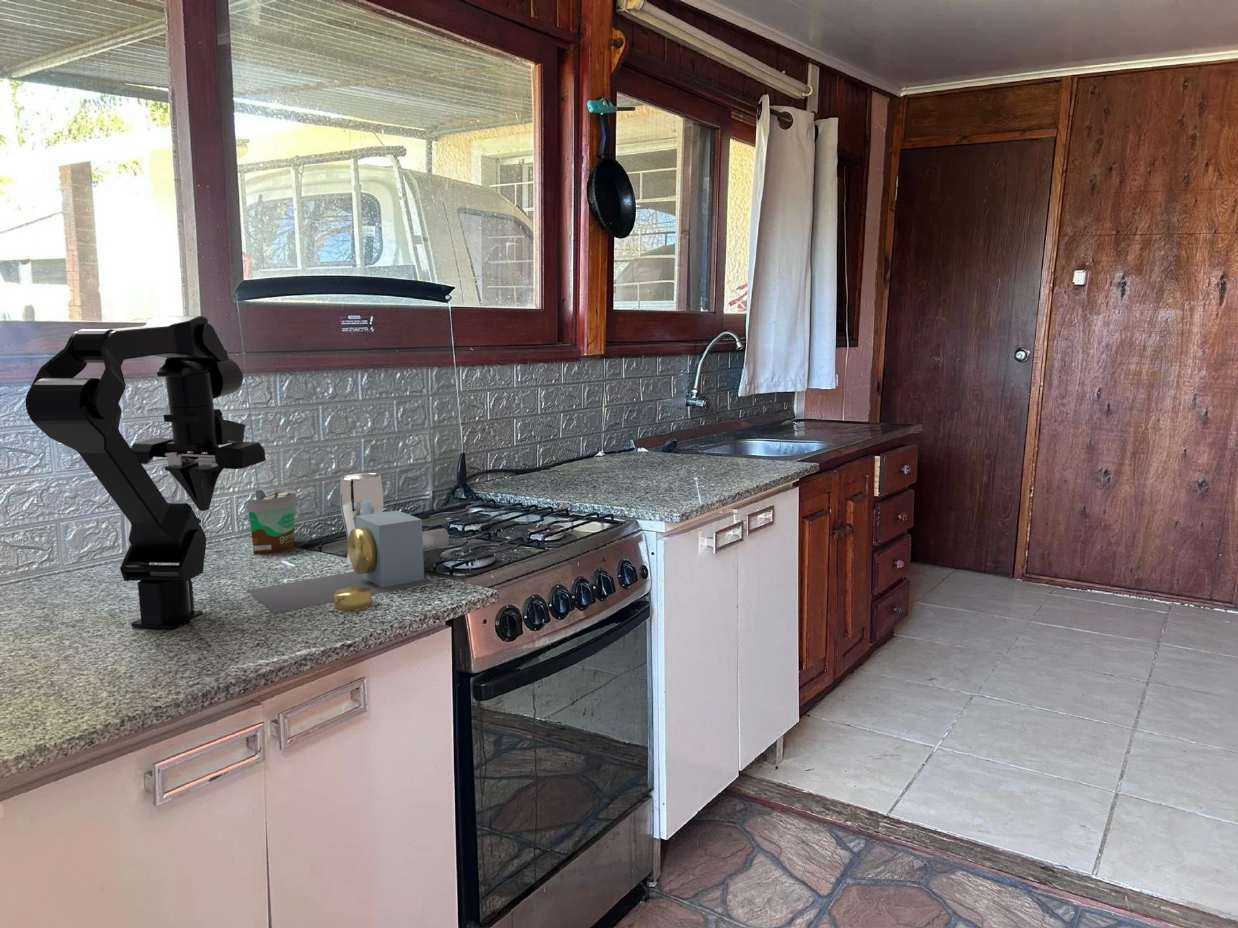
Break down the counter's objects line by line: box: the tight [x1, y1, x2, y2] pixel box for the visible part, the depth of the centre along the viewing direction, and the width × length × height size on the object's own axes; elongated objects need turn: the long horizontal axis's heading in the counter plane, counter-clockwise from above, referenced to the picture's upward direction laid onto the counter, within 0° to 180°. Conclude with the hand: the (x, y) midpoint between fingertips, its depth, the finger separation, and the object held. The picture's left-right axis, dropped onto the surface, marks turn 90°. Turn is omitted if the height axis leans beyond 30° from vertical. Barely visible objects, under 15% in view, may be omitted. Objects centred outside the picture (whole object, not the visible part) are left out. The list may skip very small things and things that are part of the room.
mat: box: [246, 570, 434, 615], centre depth 133 cm, size 24×14×1 cm, turn 128°
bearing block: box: [356, 510, 425, 587], centre depth 137 cm, size 7×9×10 cm
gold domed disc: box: [334, 587, 373, 612], centre depth 123 cm, size 5×5×2 cm
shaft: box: [347, 527, 450, 574], centre depth 138 cm, size 15×7×7 cm, turn 128°
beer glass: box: [339, 472, 384, 566], centre depth 147 cm, size 7×7×15 cm
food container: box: [246, 488, 299, 556], centre depth 158 cm, size 12×6×10 cm, turn 179°
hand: (204, 510), depth 127 cm, fingers closed
